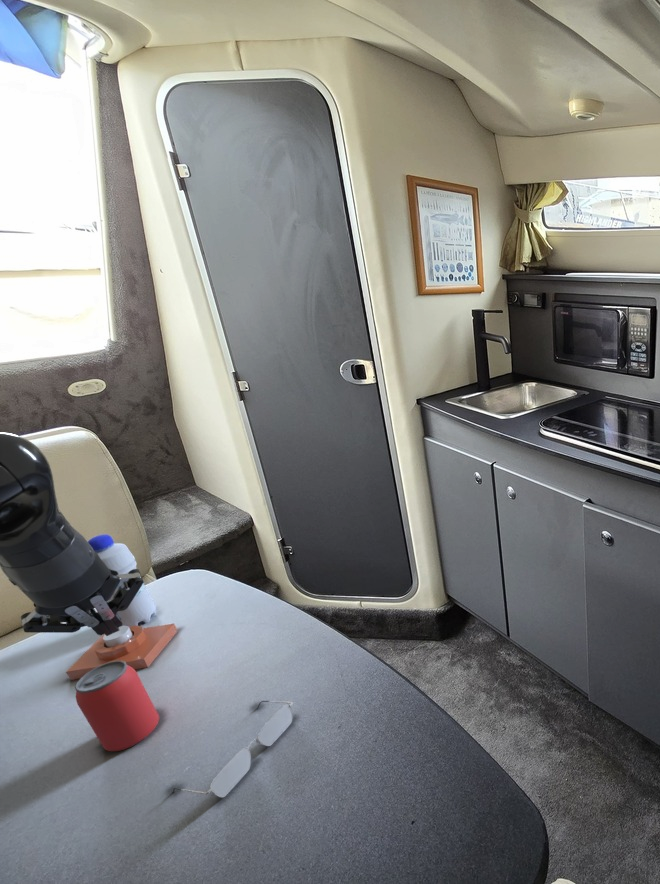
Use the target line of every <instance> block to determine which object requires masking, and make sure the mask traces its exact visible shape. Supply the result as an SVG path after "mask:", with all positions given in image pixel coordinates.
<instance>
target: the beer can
mask: <svg viewBox="0 0 660 884" xmlns="http://www.w3.org/2000/svg"><path fill="white" fill-rule="evenodd" d="M74 690H75V702H76V704H77V706H78V708H79V709H80V711H81V713H82V714H83V716H84V718H85V720H86V721H87V723H88V725H90V728H91V729H92V731H93V733H94V734H95V736H96V738H97V739H98V741H99V743H100V744H101V746H102V748H103V749H104V750H105V751H108V752H119V751H124V750H126V749H129V748H132V747H134V746H135V745H137V744H139V743H141V742H143V740H145V739H146V738H147V737H149V736H150V735H151V734H152V732H153V731H154V730H155V729H156V727H157V726H158V724H159V722H160V715H159V713H158V711H157V709H156V707H155V705H154V703H153V702H152V699H151V697H150V696H149V694H148V692H147V690H146V688H145V686H144V684H143V682H142V680H141V678H140V677H139V675H138V672H137V671H136V669H133V668H132V667H130V666H128V665H127V664H126V662H124V661H113V662H108V663H105V664H103V665H100V666H98V667H96V668H94V669H92V670H91V671H89V672H88V673H86V674H85V675H84V676H83V677H81V678H80V679H78V681H77V682H76V683H75V686H74Z"/></svg>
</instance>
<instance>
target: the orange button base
mask: <svg viewBox="0 0 660 884" xmlns="http://www.w3.org/2000/svg"><path fill="white" fill-rule="evenodd" d="M129 628H130V630H131V632H132V634H133V636H132V637H131V638H130V639H129V640H127V641H126V642H124V643H122V644H120V645H117V646H115V647H107V646H106V644H105V642H104V640H103V636H104V635H105V634H103V635H100V637H99V638H98V639H97V640H96V641H95V642H94V643H93V644H92V645H91V646H90V647H89V648H88V649H87V650H86V651H85V652H84V653H83V654H82V655H81V656H80V657H79V658H78V659H77V660H76V661H75V662H74V663H73V664H71V666H70V667H68V669H66V671H65V673H66V675H67V677H68V678H69V680H70V681H74V680H80V678H81V677H83V676H84V675H85V674H86V673H88V672H89V671H91V670H92V669H94V668H96V667H98V666H100V665H103V664H105V663H108V662H113V661H124V662H126V664H127V665H128V666H130V667H132V668H133V669H134V670H139V669H140V670H141V669H145V668H149V667H150V666H151V664H152V663H153V662H154V661H155V660H156V658H157V657H158V656H159V655H160V653H161V652H162V651H163V650H164V648H166V647H167V645H168V644H169V643H170V641H171V640H172V639H173V637H174V636H175V635H176V634H177V633H178V628H177V626H176V624H175V623H167V624H162V625H155V626H154V625H153V626H148V627H143V626H141V625H138V626H137V625H135V626H129Z"/></svg>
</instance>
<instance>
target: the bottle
mask: <svg viewBox="0 0 660 884" xmlns="http://www.w3.org/2000/svg"><path fill="white" fill-rule="evenodd" d="M87 542H88V543H89V544H90V545H91V547H92V548H93V549H94V551H95V552H96V553H97V555H98V556H99V557H100V558H101V560H102V561H103V562H104V564H105V565H106V566H107V567H108V568H109V569H111V570H115V571H117V572H118V574H128V573H129V571H131V570H133V569H138V568H137V564H138V563H137V561H136V558H135V556H134V554H133V553H132V552H131V550H130V549H129V548H128V546H127V545H126V544H124V543H119V542H116V543H115V542H114V539H113V538H112V536H111V535H110V534H99V535H96V536H93V537H91V538H90V539H89V540H87ZM119 587H120V584H118V586H117V588H116V590H115V591H114V593H113V595H112V597H111V598H110V599H109V602H110V601H111V600H113V597H114V595H115V593H116V592H117V590H118V589H119ZM117 614H118V615H119V616H120V618H121V620H122V623H123V624H122V626H135V625H137V626H139V624H140V623H141V622H143V623H144V624H147V623H149V622H150V621H151V618H153V617H155V616H156V614H157V606H156V603H155V601H154V599H153V597H152V596H151V594H150V592H149V590H148V589H147V588H146V585H145V583H143V584H142V586H141V588H140V589H139V591H138V592H137V594H136V596H135V597H134V599H133V600H132V602H131V603H130V605H129V607H128V608H127V609H126V610H123V611H118V612H117Z"/></svg>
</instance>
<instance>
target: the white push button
mask: <svg viewBox="0 0 660 884" xmlns="http://www.w3.org/2000/svg"><path fill="white" fill-rule="evenodd" d="M119 630H120V631H117V632H115V633H113V634H111V635H109V636H106V635H104V636H103V640H104V642H105V644H106V646H107V647H115V646H117V645H120V644H122V643H124V642H126V641H127V640H129V639H130V638H131V637H132V636H133V634H132V632H131V630H130V628H129V626H121V627H119Z"/></svg>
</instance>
